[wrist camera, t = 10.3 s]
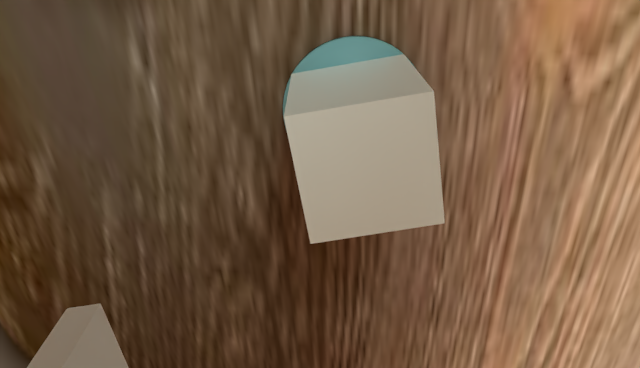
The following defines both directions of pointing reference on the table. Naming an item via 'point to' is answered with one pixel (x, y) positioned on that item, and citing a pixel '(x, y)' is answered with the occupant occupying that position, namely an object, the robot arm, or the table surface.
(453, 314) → the table surface
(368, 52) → the teal post on base
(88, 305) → the robot arm
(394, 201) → the white rectangular block
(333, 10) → the table surface
